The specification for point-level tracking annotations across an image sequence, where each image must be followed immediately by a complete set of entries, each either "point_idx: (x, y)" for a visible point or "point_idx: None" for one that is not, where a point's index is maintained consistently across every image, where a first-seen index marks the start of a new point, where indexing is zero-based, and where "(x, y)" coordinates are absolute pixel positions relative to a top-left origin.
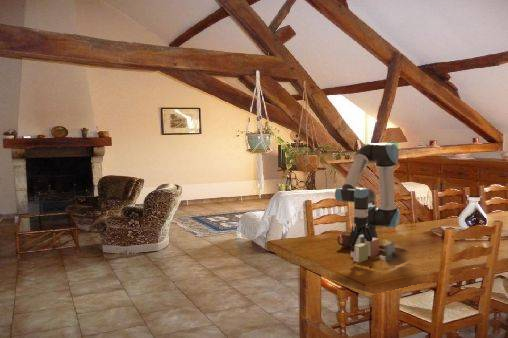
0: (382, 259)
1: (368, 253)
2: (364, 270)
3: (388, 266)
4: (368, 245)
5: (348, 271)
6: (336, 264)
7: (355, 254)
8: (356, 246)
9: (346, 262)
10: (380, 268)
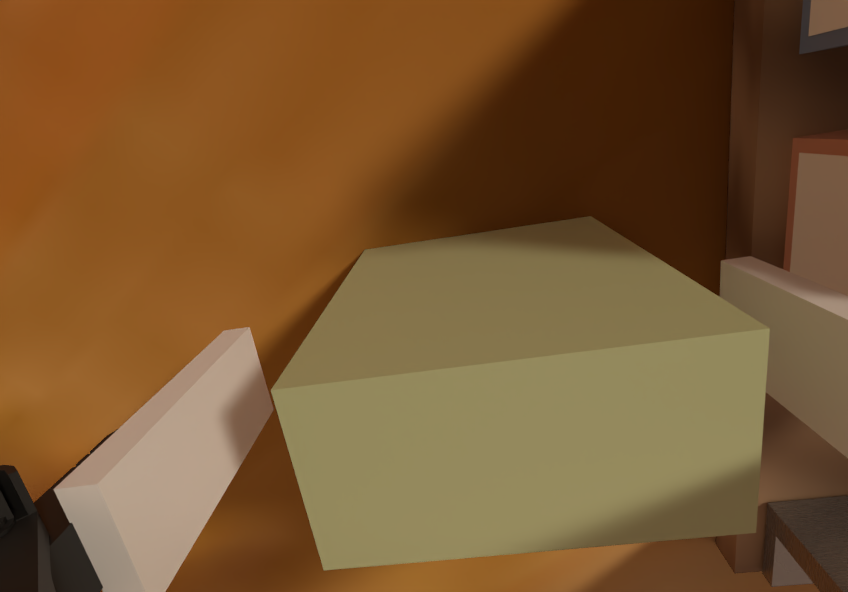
0: (765, 466)
1: (821, 241)
2: (279, 510)
3: (626, 571)
4: (837, 432)
5: (89, 434)
6: (114, 124)
7: (242, 446)
8: (302, 480)
9: (321, 141)
10: (488, 563)
